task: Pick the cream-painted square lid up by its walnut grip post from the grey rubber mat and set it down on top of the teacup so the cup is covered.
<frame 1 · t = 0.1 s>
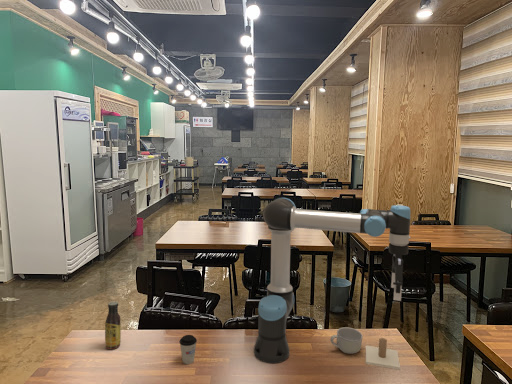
hand: (395, 293, 152), 28 cm above the table, fingers open, 13 cm apart
teacup: (345, 351, 160), on the table
sauce bottle: (113, 347, 160), on the table
lid: (381, 358, 153), resting on mat
coffee cup: (188, 361, 150), on the table
mat: (381, 359, 153), on the table
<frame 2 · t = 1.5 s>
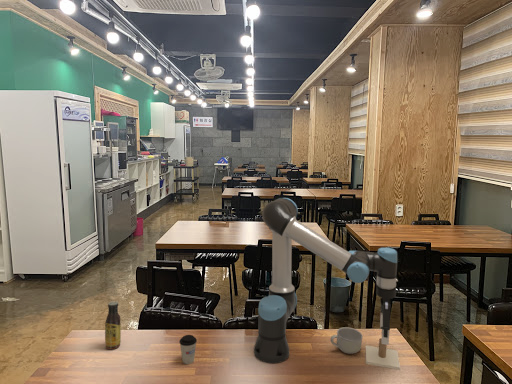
hand: (384, 335, 152), 10 cm above the table, fingers open, 13 cm apart
nothing on the table moved.
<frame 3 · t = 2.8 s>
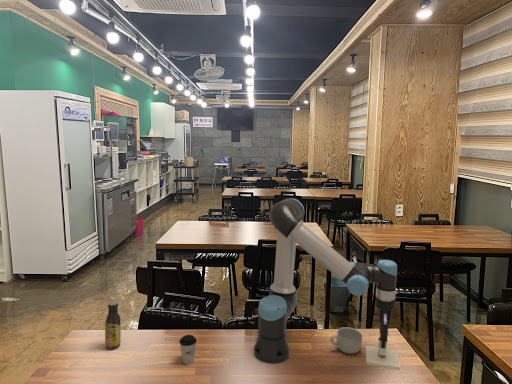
hand: (382, 352, 153), 3 cm above the table, fingers closed on lid, 3 cm apart
lid: (381, 358, 153), resting on mat, touching gripper
everything else where it was.
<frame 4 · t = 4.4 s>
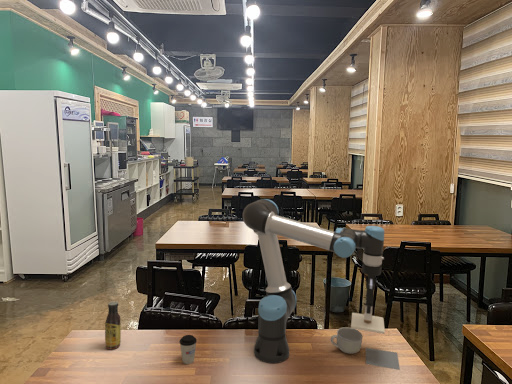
hand: (367, 317, 154), 17 cm above the table, fingers closed on lid, 3 cm apart
lid: (367, 323, 154), point 14 cm above the table, touching gripper
everything else where it was.
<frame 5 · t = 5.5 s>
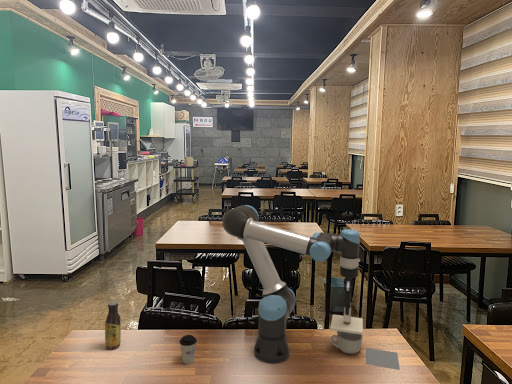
hand: (347, 319, 158), 14 cm above the table, fingers closed on lid, 3 cm apart
lid: (346, 325, 158), point 12 cm above the table, touching gripper
everything else where it was.
when the fingers open (12 cm above the table, at t = 6.0 s): lid drops 2 cm, resting on teacup.
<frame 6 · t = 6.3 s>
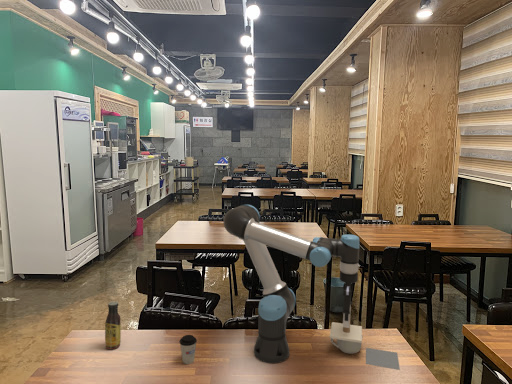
hand: (346, 322, 158), 13 cm above the table, fingers open, 7 cm apart
teacup: (345, 351, 160), on the table, touching lid
lid: (346, 333, 159), point 8 cm above the table, touching teacup
everything else where it was.
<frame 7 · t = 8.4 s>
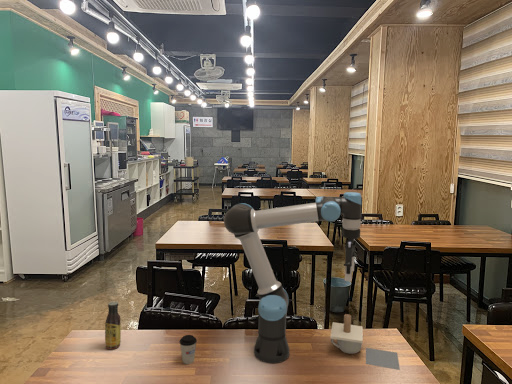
hand: (349, 275, 161), 32 cm above the table, fingers open, 13 cm apart
nothing on the table moved.
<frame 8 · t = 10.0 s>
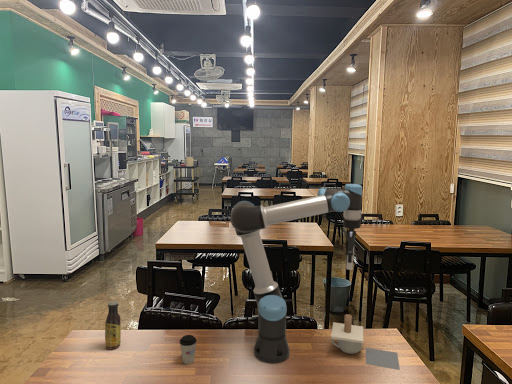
hand: (350, 264, 167), 35 cm above the table, fingers open, 13 cm apart
nothing on the table moved.
at the end: lid inside the target area in the teacup (0.3 cm from its centre), point 8.2 cm above the teacup's base; lid touching teacup; teacup tilted 0° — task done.
